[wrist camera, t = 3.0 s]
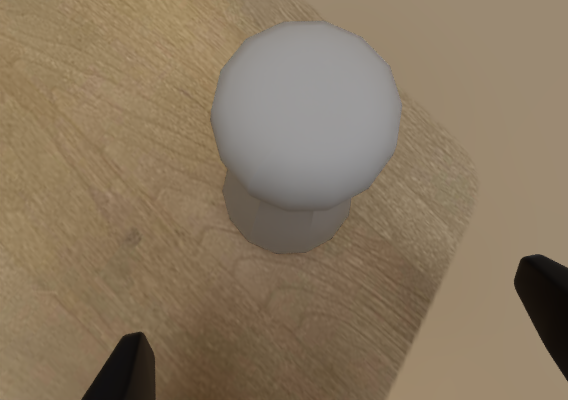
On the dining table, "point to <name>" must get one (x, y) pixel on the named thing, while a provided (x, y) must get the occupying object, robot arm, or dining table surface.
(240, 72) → the salt shaker
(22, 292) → the dining table surface
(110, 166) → the dining table surface
